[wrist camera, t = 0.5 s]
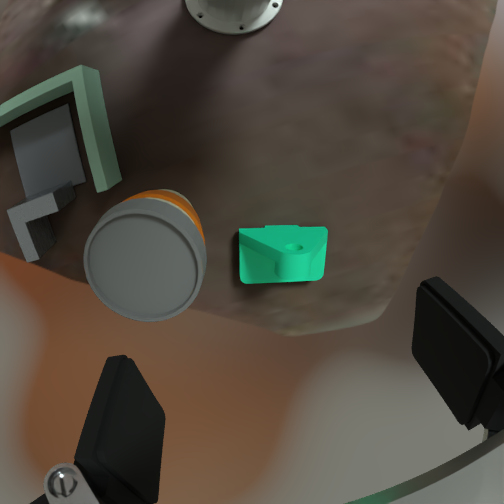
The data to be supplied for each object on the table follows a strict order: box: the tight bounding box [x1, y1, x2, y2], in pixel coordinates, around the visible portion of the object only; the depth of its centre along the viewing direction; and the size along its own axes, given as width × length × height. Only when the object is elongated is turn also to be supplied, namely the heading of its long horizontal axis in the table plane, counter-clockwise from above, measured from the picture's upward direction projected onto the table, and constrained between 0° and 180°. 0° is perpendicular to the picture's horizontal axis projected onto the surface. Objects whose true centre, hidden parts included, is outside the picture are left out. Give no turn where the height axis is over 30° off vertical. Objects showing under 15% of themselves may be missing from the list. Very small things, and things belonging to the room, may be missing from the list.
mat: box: [10, 104, 87, 198], centre depth 37 cm, size 12×11×1 cm
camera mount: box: [239, 225, 328, 284], centre depth 42 cm, size 12×8×10 cm, turn 90°
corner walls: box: [0, 65, 122, 193], centre depth 34 cm, size 16×20×6 cm
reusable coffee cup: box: [83, 189, 207, 322], centre depth 36 cm, size 13×12×15 cm
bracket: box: [7, 181, 76, 262], centre depth 38 cm, size 8×8×6 cm
